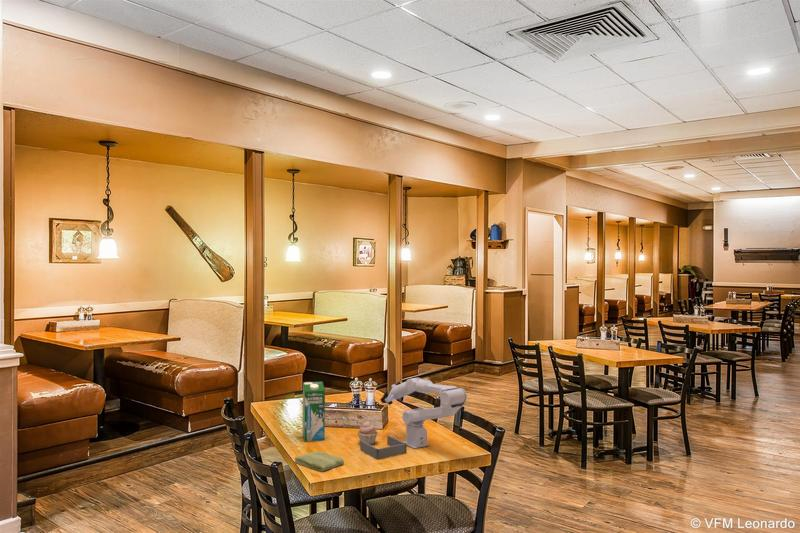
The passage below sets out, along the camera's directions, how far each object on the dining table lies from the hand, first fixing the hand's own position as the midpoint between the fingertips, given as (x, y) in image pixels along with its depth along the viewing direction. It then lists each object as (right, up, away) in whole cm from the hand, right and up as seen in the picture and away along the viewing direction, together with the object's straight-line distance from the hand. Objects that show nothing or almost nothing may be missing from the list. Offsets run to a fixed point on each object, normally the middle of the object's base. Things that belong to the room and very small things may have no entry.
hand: (386, 396), depth 270 cm
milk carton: (-33, -17, -9) cm, 39 cm away
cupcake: (-8, -18, -16) cm, 25 cm away
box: (-1, -17, -26) cm, 31 cm away
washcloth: (-26, -18, -41) cm, 52 cm away
